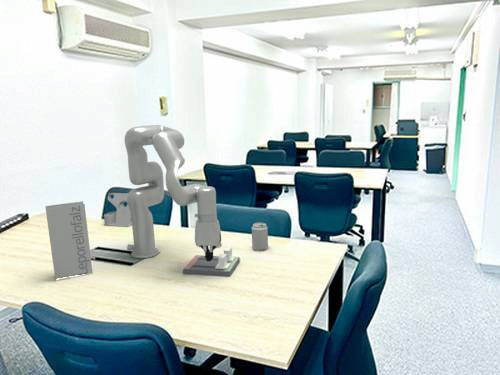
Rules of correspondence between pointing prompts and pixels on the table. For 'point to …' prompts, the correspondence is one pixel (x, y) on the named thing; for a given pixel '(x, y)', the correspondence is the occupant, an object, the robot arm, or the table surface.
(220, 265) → the breaker
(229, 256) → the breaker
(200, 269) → the slider switch panel
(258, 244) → the can
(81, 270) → the brochure
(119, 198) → the phone holder
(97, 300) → the table surface
